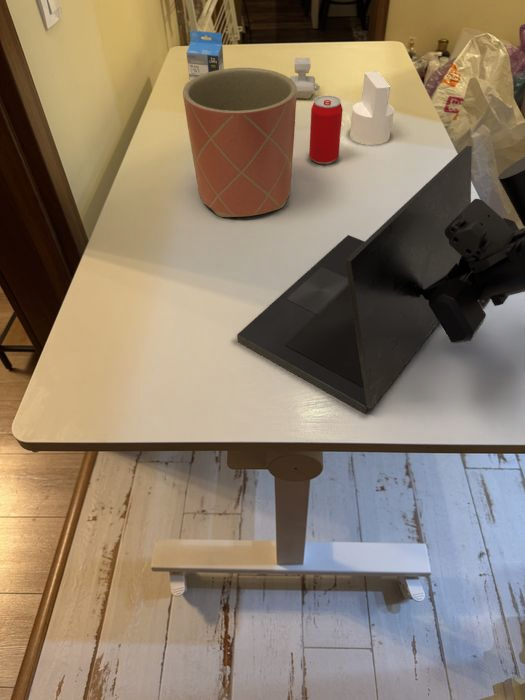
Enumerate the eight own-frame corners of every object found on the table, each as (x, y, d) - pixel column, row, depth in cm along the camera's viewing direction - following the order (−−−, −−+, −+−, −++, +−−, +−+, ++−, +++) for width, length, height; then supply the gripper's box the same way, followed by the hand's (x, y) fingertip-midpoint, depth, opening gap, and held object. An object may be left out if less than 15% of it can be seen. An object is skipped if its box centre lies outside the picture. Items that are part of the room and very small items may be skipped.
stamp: (283, 101, 131) (283, 65, 125) (284, 90, 135) (285, 55, 129) (318, 101, 130) (320, 65, 124) (319, 91, 135) (321, 55, 128)
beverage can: (338, 152, 112) (343, 94, 103) (338, 166, 108) (343, 107, 99) (309, 151, 113) (312, 94, 104) (308, 165, 109) (311, 107, 100)
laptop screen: (343, 260, 52) (350, 261, 51) (465, 145, 68) (471, 145, 67) (366, 406, 64) (371, 409, 64) (464, 281, 80) (469, 282, 80)
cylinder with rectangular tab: (395, 143, 115) (405, 86, 106) (355, 146, 114) (362, 89, 105) (382, 125, 121) (391, 70, 112) (345, 128, 120) (350, 73, 111)
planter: (189, 178, 106) (175, 73, 91) (278, 165, 109) (279, 62, 94) (205, 230, 93) (192, 118, 79) (306, 213, 96) (311, 103, 82)
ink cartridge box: (189, 86, 138) (183, 35, 129) (194, 81, 141) (189, 30, 132) (220, 90, 136) (216, 37, 127) (225, 84, 139) (222, 32, 130)
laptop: (237, 341, 75) (236, 334, 73) (347, 241, 90) (348, 234, 89) (364, 413, 66) (366, 406, 64) (461, 289, 81) (464, 281, 80)
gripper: (539, 156, 57) (425, 209, 70) (472, 236, 48) (354, 281, 60) (582, 240, 60) (464, 277, 73) (526, 332, 50) (402, 356, 63)
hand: (424, 294), depth 67 cm, fingers closed, pressing on laptop screen
